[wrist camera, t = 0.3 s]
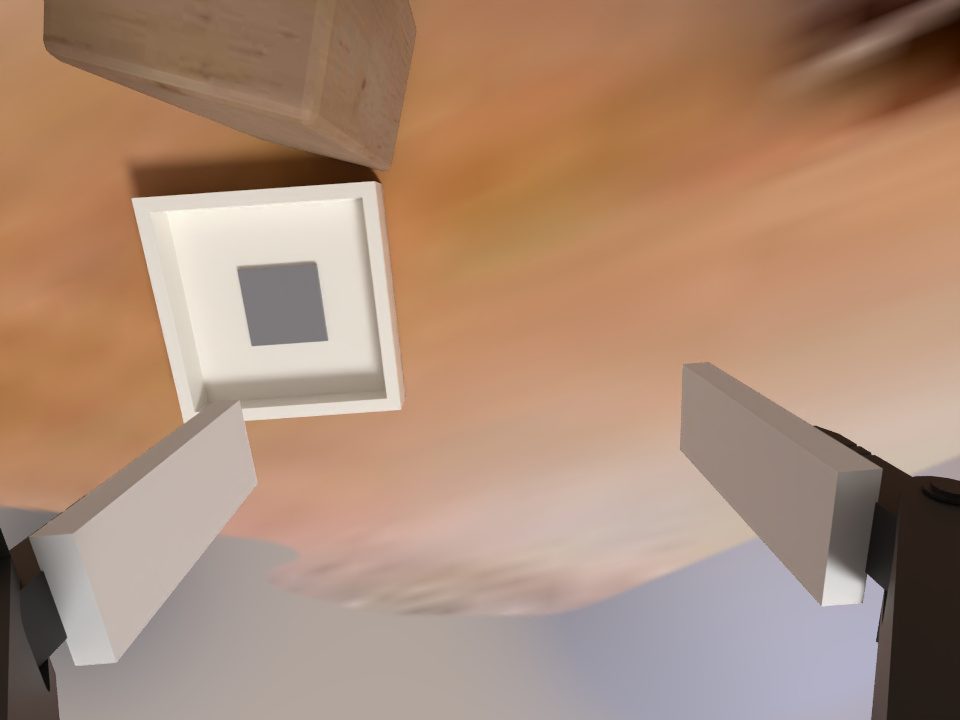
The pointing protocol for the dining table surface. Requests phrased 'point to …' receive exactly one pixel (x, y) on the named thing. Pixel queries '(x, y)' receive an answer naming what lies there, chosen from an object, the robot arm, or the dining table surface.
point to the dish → (276, 299)
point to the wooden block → (255, 64)
